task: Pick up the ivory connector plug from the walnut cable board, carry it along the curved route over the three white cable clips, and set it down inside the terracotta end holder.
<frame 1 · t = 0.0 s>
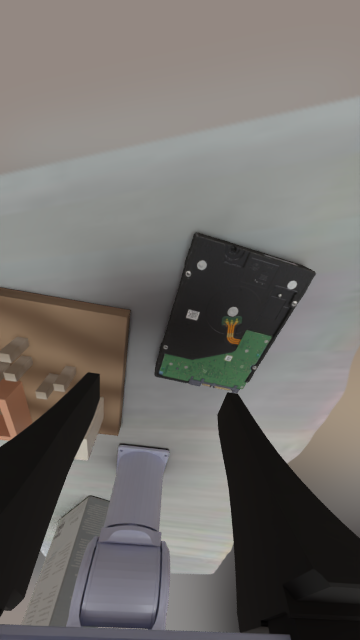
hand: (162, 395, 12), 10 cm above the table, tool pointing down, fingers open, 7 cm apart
hard drive box: (90, 510, 45), on the table
connector plug: (87, 406, 25), point 1 cm above the table, touching cable board
disk drive: (218, 317, 21), on the table
cable board: (39, 366, 24), on the table
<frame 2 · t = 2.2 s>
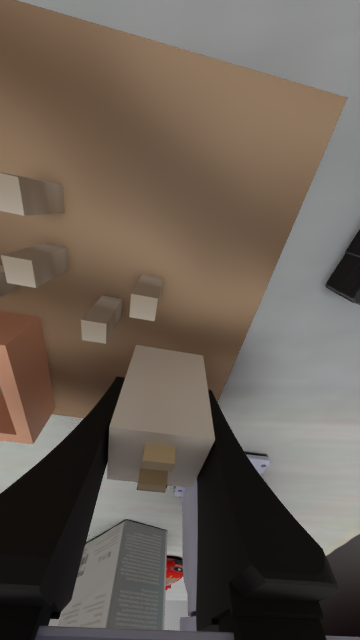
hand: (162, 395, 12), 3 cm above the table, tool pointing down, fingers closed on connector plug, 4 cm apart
hard drive box: (122, 536, 33), on the table
connector plug: (164, 374, 13), point 1 cm above the table, touching cable board, gripper
cable board: (74, 290, 12), on the table
race car: (155, 559, 40), on the table
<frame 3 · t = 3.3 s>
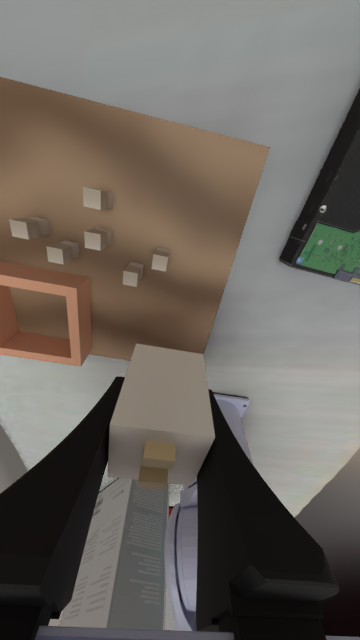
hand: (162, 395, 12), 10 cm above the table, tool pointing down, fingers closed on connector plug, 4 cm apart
hard drive box: (131, 485, 39), on the table
connector plug: (164, 373, 13), point 8 cm above the table, touching gripper
cable board: (110, 261, 18), on the table
end holder: (48, 309, 18), resting on cable board
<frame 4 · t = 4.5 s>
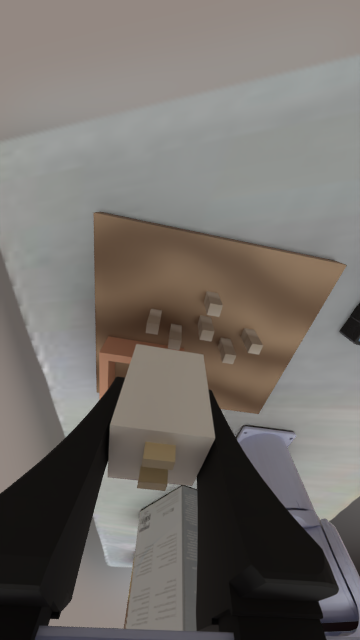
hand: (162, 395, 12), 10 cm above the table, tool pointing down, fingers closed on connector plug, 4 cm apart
hard drive box: (174, 501, 42), on the table
connector plug: (165, 373, 13), point 8 cm above the table, touching gripper
cable board: (197, 332, 21), on the table
end holder: (143, 370, 22), resting on cable board
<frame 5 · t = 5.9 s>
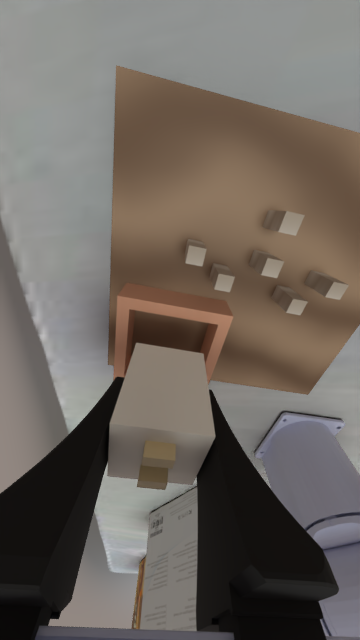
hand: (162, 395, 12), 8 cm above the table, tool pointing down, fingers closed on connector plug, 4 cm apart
hard drive box: (189, 502, 37), on the table
connector plug: (165, 372, 13), point 6 cm above the table, touching gripper
candy box: (150, 558, 55), on the table
cable board: (241, 282, 16), on the table
end holder: (169, 333, 17), resting on cable board
when the fingers open (5 cm above the table, at t = 6.8 s): connector plug drops 2 cm, resting on cable board.
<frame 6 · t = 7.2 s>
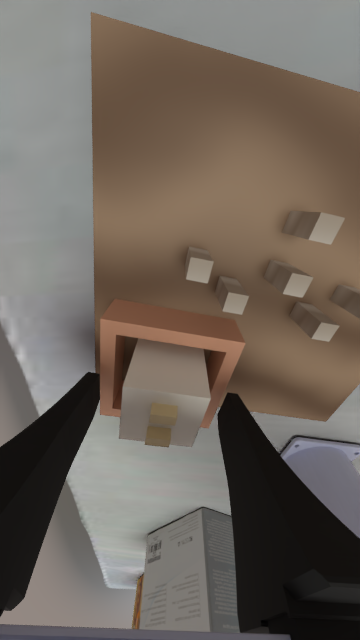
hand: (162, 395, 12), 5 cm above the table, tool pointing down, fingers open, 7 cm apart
hard drive box: (190, 524, 35), on the table
connector plug: (167, 355, 14), point 1 cm above the table, touching cable board
candy box: (148, 575, 52), on the table
cable board: (252, 297, 14), on the table
end holder: (166, 356, 14), resting on cable board
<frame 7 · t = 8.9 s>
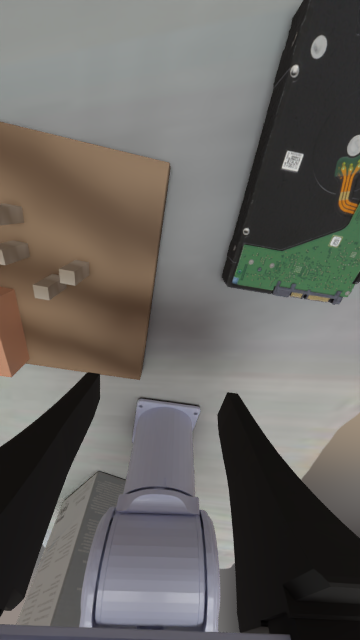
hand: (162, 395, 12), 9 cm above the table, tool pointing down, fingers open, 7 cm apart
hard drive box: (98, 490, 39), on the table
disk drive: (310, 193, 15), on the table
cable board: (38, 272, 18), on the table
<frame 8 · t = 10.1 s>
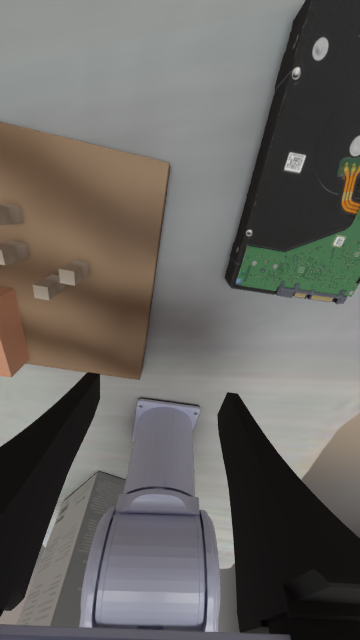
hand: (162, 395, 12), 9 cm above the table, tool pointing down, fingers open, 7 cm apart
hard drive box: (98, 490, 39), on the table
disk drive: (312, 193, 15), on the table
cable board: (38, 272, 18), on the table
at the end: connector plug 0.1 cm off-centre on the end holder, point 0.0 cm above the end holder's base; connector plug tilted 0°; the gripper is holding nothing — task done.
